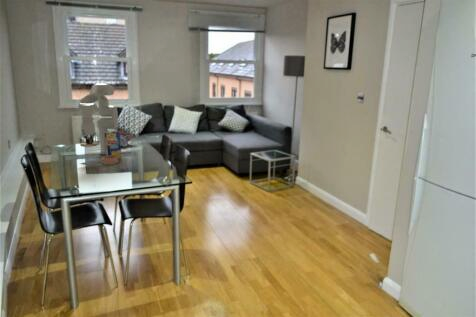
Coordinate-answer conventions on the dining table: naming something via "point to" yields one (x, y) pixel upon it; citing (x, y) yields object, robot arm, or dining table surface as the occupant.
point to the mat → (91, 163)
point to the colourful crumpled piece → (124, 138)
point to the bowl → (109, 159)
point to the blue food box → (113, 144)
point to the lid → (89, 143)
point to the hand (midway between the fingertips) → (89, 143)
